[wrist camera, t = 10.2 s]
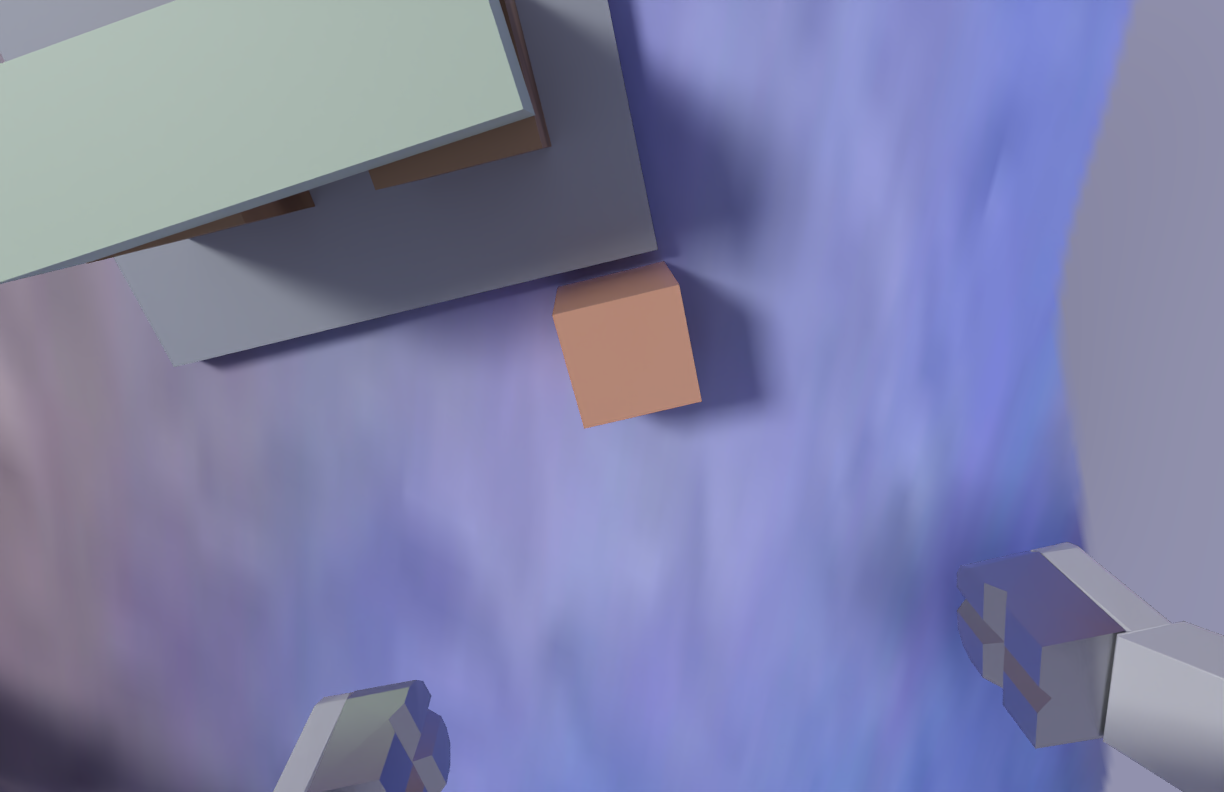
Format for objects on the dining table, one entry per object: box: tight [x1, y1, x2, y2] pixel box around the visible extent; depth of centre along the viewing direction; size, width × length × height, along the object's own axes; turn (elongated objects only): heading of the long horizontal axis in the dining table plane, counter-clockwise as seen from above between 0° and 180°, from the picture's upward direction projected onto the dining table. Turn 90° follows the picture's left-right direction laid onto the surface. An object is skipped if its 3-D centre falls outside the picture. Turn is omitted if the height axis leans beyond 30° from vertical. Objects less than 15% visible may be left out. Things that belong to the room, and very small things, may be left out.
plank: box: [0, 0, 535, 284], centre depth 15 cm, size 4×14×4 cm, turn 107°
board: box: [0, 0, 658, 367], centre depth 22 cm, size 14×20×1 cm
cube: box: [552, 261, 702, 428], centre depth 24 cm, size 4×4×4 cm
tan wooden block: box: [368, 0, 551, 190], centre depth 19 cm, size 5×5×5 cm
